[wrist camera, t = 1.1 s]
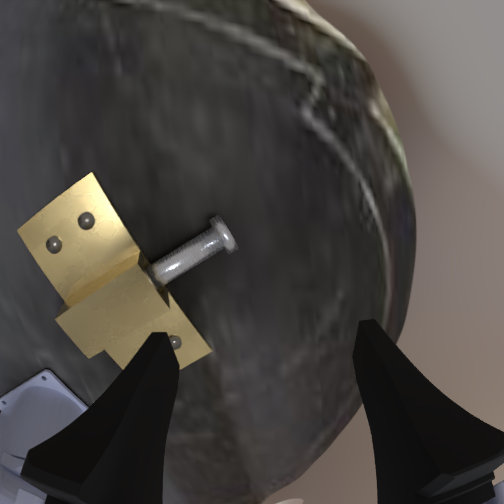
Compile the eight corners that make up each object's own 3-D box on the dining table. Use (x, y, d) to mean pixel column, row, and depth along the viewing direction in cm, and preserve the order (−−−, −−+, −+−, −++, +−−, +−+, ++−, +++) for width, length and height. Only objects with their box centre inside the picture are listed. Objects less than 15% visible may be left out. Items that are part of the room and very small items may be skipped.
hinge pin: (130, 305, 21) (128, 323, 19) (109, 277, 20) (104, 292, 18) (232, 243, 22) (242, 253, 20) (214, 211, 21) (222, 218, 19)
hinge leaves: (142, 385, 24) (143, 412, 21) (20, 228, 18) (0, 240, 15) (211, 347, 25) (219, 372, 21) (93, 171, 18) (81, 174, 15)
